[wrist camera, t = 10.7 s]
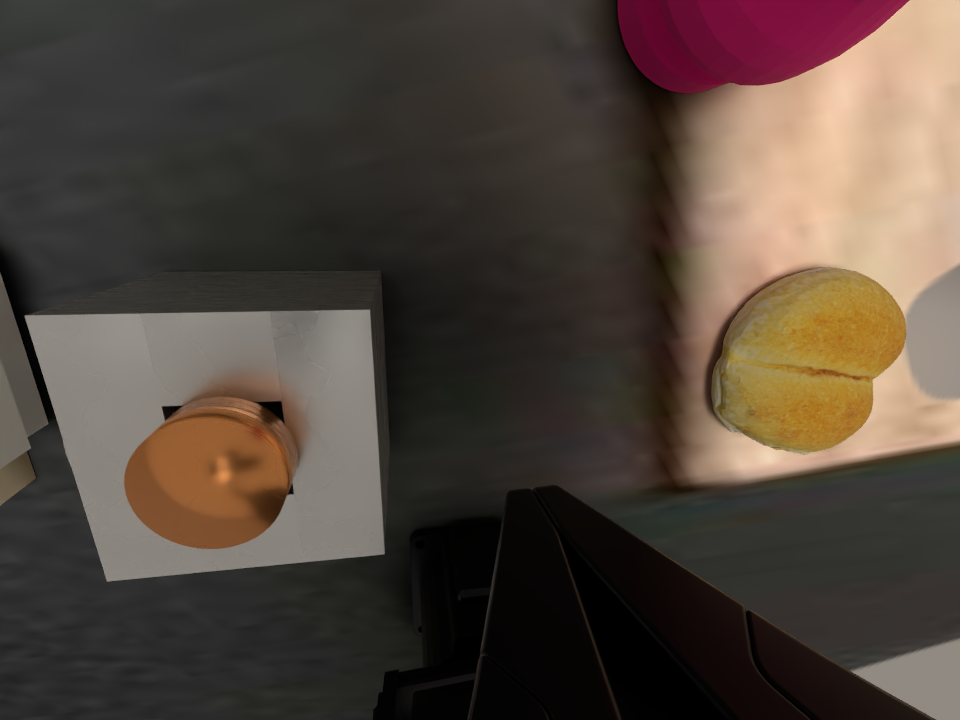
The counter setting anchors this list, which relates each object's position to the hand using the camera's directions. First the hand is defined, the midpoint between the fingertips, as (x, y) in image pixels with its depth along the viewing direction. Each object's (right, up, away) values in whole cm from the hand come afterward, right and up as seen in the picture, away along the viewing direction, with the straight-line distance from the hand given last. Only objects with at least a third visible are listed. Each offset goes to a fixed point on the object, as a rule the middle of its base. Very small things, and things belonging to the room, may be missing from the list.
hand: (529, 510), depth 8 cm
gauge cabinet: (-9, +2, +12) cm, 15 cm away
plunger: (-8, +1, +9) cm, 13 cm away
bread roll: (+15, +3, +16) cm, 22 cm away
